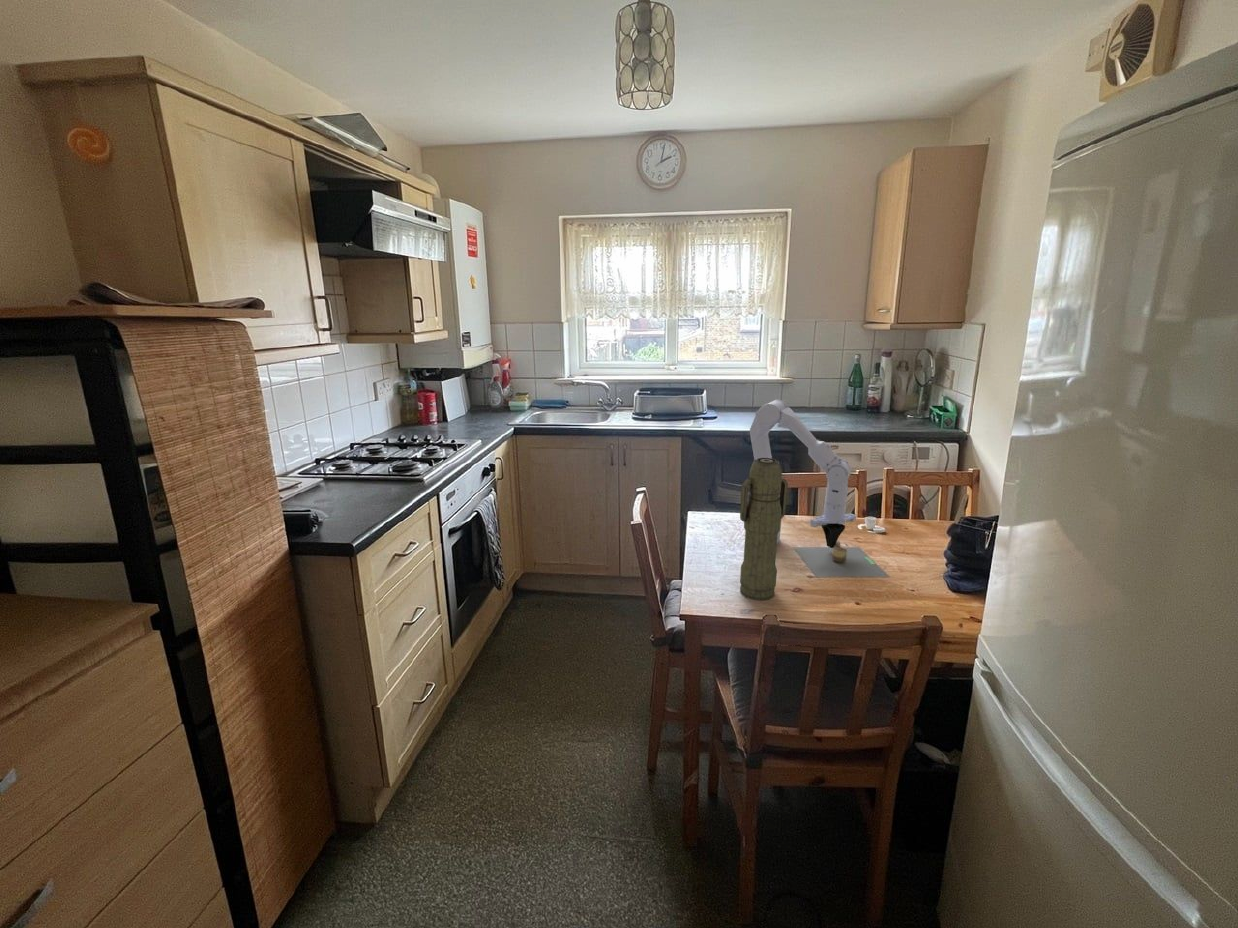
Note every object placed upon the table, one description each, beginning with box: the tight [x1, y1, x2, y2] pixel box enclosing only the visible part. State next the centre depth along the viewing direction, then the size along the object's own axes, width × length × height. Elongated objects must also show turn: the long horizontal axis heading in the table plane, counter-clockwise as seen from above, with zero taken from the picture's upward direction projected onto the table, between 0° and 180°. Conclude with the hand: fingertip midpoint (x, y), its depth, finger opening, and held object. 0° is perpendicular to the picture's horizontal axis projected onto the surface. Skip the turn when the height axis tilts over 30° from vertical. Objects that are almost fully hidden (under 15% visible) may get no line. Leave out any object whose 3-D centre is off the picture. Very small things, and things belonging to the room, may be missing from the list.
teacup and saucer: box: [857, 516, 886, 534], centre depth 189 cm, size 9×8×4 cm
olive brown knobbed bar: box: [832, 540, 847, 562], centre depth 164 cm, size 10×4×3 cm, turn 165°
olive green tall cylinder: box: [739, 458, 789, 601], centre depth 142 cm, size 9×12×35 cm
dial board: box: [792, 546, 891, 578], centre depth 162 cm, size 20×20×1 cm
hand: (830, 546), depth 168 cm, fingers closed
